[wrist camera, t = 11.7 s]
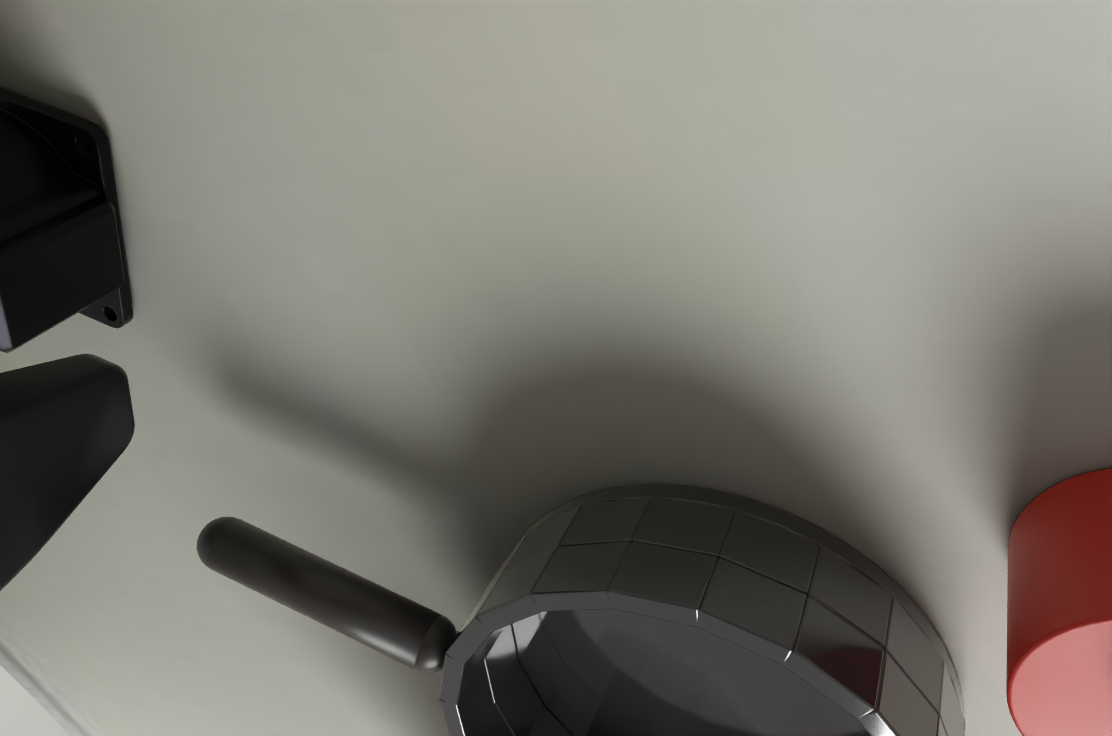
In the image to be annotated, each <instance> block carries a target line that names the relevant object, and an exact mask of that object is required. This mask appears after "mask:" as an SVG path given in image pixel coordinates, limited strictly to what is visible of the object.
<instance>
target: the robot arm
mask: <svg viewBox="0 0 1112 736" xmlns="http://www.w3.org/2000/svg"><path fill="white" fill-rule="evenodd" d="M76 313H81V314H83V315H85V316H88V317H90V318H92V319H95V320H97V321H99V322H101V323H104V324H106V325H108V326H111V327H114V328H120V327H122V326H124V325H125V324H127V323H128V322H130V321H131V320H132V319H133V308H132V301H131V294H130V287H129V280H128V272H127V265H126V258H125V251H124V244H123V237H122V229H121V222H120V215H119V208H118V201H117V193H116V186H115V179H114V172H113V165H112V157H111V150H110V144H109V141H108V138H107V136H106V134H105V133H104V131H103V130H102V129H101V128H100V127H99V126H98V125H96V124H95V123H93V122H91V121H88V120H85V119H83V118H80V117H77V116H75V115H72V114H69V113H67V112H64V111H61V110H59V109H56V108H53V107H51V106H48V105H45V104H43V103H40V102H37V101H35V100H32V99H29V98H27V97H24V96H21V95H19V94H16V93H13V92H11V91H8V90H5V89H3V88H0V351H2V352H6V353H8V352H11V351H13V350H15V349H16V348H18V347H20V346H22V345H23V344H25V343H27V342H28V341H30V340H32V339H34V338H35V337H37V336H39V335H40V334H42V333H44V332H46V331H47V330H49V329H51V328H52V327H54V326H56V325H57V324H59V323H61V322H63V321H64V320H66V319H68V318H69V317H71V316H73V315H75V314H76ZM134 427H135V424H134V416H133V410H132V403H131V396H130V390H129V383H128V378H127V375H126V373H125V371H124V370H123V369H122V368H121V367H120V366H118V365H116V364H114V363H111V362H109V361H107V360H105V359H102V358H100V357H98V356H95V355H91V354H81V355H76V356H71V357H67V358H63V359H58V360H54V361H50V362H46V363H41V364H37V365H33V366H28V367H24V368H20V369H16V370H11V371H7V372H3V373H0V591H1V590H2V589H3V588H4V587H5V586H6V585H7V584H8V583H9V582H10V581H11V580H12V579H13V578H14V577H15V576H16V575H17V574H18V573H19V572H20V571H21V570H22V569H23V568H24V567H25V566H26V565H27V564H28V563H29V562H30V561H31V560H32V559H33V558H34V556H35V555H36V554H37V553H38V552H39V551H40V550H41V548H42V547H43V546H44V545H45V544H46V543H47V542H48V541H49V540H50V538H51V537H52V536H53V535H54V534H55V532H56V531H57V530H58V529H59V528H60V526H61V525H62V524H63V523H64V522H65V520H66V519H67V518H68V517H69V516H70V515H71V513H72V512H73V511H74V510H75V509H76V507H77V506H78V505H79V504H80V503H81V501H82V500H83V499H84V498H85V497H86V495H87V494H88V493H89V492H90V491H91V489H92V488H93V487H94V486H95V485H96V484H97V482H98V481H99V480H100V479H101V478H102V476H103V475H104V474H105V473H106V472H107V470H108V469H109V468H110V467H111V466H112V464H113V463H114V462H115V461H116V460H117V459H118V457H119V456H120V455H121V454H122V453H123V451H124V450H125V449H126V447H127V446H128V444H129V443H130V441H131V439H132V436H133V433H134Z"/></svg>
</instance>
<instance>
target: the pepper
mask: <svg viewBox="0 0 1112 736" xmlns="http://www.w3.org/2000/svg"><path fill="white" fill-rule="evenodd" d="M1007 702H1008V706H1009V710H1010V714H1011V716H1012V718H1013V720H1014V722H1015V725H1016V726H1017V728H1018V729H1019V731H1020V733H1021V734H1022V736H1112V468H1110V469H1104V470H1098V471H1093V472H1089V473H1085V474H1081V475H1078V476H1075V477H1072V478H1070V479H1067V480H1065V481H1062V482H1060V483H1058V484H1056V485H1054V486H1053V487H1051V488H1049V489H1047V490H1046V491H1044V492H1043V493H1042V494H1040V495H1039V496H1037V497H1036V498H1035V499H1034V500H1033V501H1032V502H1031V503H1030V504H1029V505H1028V506H1027V507H1026V508H1025V509H1024V510H1023V512H1022V513H1021V514H1020V515H1019V517H1018V519H1017V521H1016V522H1015V524H1014V526H1013V529H1012V531H1011V534H1010V538H1009V545H1008V602H1007Z"/></svg>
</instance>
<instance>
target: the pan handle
mask: <svg viewBox="0 0 1112 736" xmlns="http://www.w3.org/2000/svg"><path fill="white" fill-rule="evenodd" d="M197 551H198V555H199V557H200V559H201V561H202V562H203V563H204V564H205V565H206V566H207V567H209V568H210V569H212V570H214V571H216V572H218V573H220V574H222V575H224V576H226V577H228V578H230V579H232V580H234V581H236V582H238V583H240V584H242V585H244V586H246V587H248V588H250V589H252V590H254V591H257V592H259V593H261V594H263V595H265V596H267V597H269V598H271V599H273V600H275V601H277V602H279V603H281V604H283V605H285V606H287V607H289V608H291V609H293V610H295V611H297V612H299V613H301V614H303V615H305V616H307V617H309V618H311V619H313V620H315V621H318V622H320V623H322V624H324V625H326V626H328V627H330V628H332V629H334V630H336V631H338V632H340V633H342V634H344V635H346V636H348V637H350V638H352V639H354V640H356V641H358V642H360V643H362V644H364V645H366V646H368V647H370V648H372V649H374V650H376V651H378V652H381V653H383V654H385V655H387V656H389V657H391V658H393V659H395V660H397V661H399V662H401V663H403V664H405V665H407V666H409V667H411V668H413V669H415V670H417V671H420V672H426V673H430V672H436V671H439V670H441V669H443V666H444V659H445V653H446V652H447V649H448V648H449V646H450V644H451V643H452V641H453V640H454V638H455V637H456V635H457V631H456V629H455V627H454V625H453V624H452V622H451V621H450V620H449V619H448V618H446V617H445V616H443V615H441V614H439V613H437V612H435V611H432V610H430V609H428V608H426V607H424V606H422V605H420V604H418V603H416V602H413V601H411V600H409V599H407V598H405V597H403V596H401V595H399V594H397V593H394V592H392V591H390V590H388V589H386V588H384V587H382V586H380V585H378V584H375V583H373V582H371V581H369V580H367V579H365V578H363V577H361V576H359V575H356V574H354V573H352V572H350V571H348V570H346V569H344V568H342V567H340V566H337V565H335V564H333V563H331V562H329V561H327V560H325V559H323V558H321V557H318V556H316V555H314V554H312V553H310V552H308V551H306V550H304V549H302V548H299V547H297V546H295V545H293V544H291V543H289V542H287V541H285V540H283V539H280V538H278V537H276V536H274V535H272V534H270V533H268V532H266V531H264V530H261V529H259V528H257V527H255V526H253V525H251V524H249V523H247V522H245V521H242V520H240V519H237V518H234V517H221V518H218V519H215V520H213V521H211V522H210V523H208V524H207V525H206V526H205V527H204V528H203V530H202V531H201V533H200V535H199V537H198V541H197Z"/></svg>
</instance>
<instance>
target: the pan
mask: <svg viewBox="0 0 1112 736" xmlns="http://www.w3.org/2000/svg"><path fill="white" fill-rule="evenodd" d="M439 703H440V706H441V710H442V713H443V717H444V720H445V724H446V728H447V731H448V735H449V736H965V719H964V716H963V704H962V693H961V689H960V685H959V682H958V678H957V675H956V671H955V668H954V665H953V663H952V661H951V659H950V657H949V655H948V653H947V651H946V648H945V646H944V644H943V642H942V640H941V639H940V637H939V636H938V634H937V633H936V631H935V630H934V628H933V627H932V625H931V624H930V622H929V621H928V619H927V618H926V616H925V615H924V613H923V612H922V611H921V610H920V609H919V608H918V607H917V605H916V604H915V603H914V602H913V601H912V600H911V599H910V597H909V596H908V595H907V594H906V593H905V592H904V591H903V589H901V588H900V587H899V586H898V585H897V584H896V583H895V582H894V581H893V580H892V579H890V578H889V577H888V576H887V575H886V574H885V573H884V572H883V571H882V570H881V569H879V568H878V567H877V566H876V565H874V564H873V563H872V562H870V561H869V560H868V559H866V558H865V557H864V556H862V555H861V554H859V553H858V552H857V551H855V550H854V549H853V548H851V547H850V546H848V545H847V544H845V543H843V542H842V541H840V540H838V539H837V538H835V537H833V536H832V535H830V534H828V533H826V532H825V531H823V530H821V529H820V528H818V527H816V526H814V525H812V524H810V523H808V522H805V521H803V520H801V519H799V518H797V517H795V516H792V515H790V514H788V513H786V512H784V511H781V510H778V509H776V508H773V507H770V506H767V505H764V504H761V503H759V502H756V501H753V500H750V499H747V498H743V497H739V496H735V495H731V494H727V493H723V492H718V491H714V490H708V489H701V488H694V487H687V486H677V485H637V486H624V487H616V488H612V489H607V490H602V491H598V492H593V493H590V494H587V495H584V496H582V497H579V498H576V499H574V500H571V501H568V502H566V503H565V504H563V505H561V506H559V507H558V508H556V509H554V510H552V511H550V512H549V513H547V514H546V515H545V516H543V517H542V518H541V519H540V520H539V521H537V522H536V523H535V524H534V525H532V526H531V527H530V529H529V530H528V531H527V532H526V533H525V535H524V536H523V537H522V538H521V539H520V541H519V542H518V543H517V545H516V546H515V548H514V550H513V551H512V553H511V554H510V555H509V556H508V558H507V559H506V560H505V561H504V563H503V564H502V565H501V567H500V568H499V570H498V571H497V573H496V574H495V576H494V577H493V579H492V581H491V582H490V584H489V585H488V587H487V588H486V590H485V591H484V593H483V595H482V596H481V598H480V599H479V601H478V602H477V604H476V606H475V607H474V609H473V610H472V612H471V613H470V615H469V616H468V618H467V619H466V621H465V623H464V624H463V626H462V627H461V629H460V630H459V632H458V633H457V635H456V637H455V638H454V640H453V641H452V643H451V644H450V646H449V648H448V649H447V652H446V653H445V659H444V666H443V673H442V679H441V686H440V692H439Z"/></svg>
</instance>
